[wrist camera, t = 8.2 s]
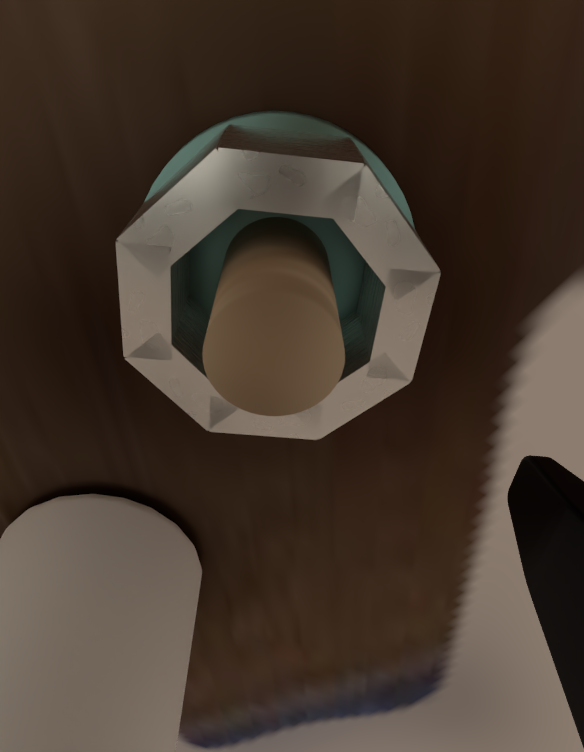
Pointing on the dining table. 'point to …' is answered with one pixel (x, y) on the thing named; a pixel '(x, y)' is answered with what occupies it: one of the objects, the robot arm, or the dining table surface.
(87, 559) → the potion bottle
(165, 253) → the ring
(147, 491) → the dining table surface
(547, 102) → the dining table surface
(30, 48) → the dining table surface
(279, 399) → the post
